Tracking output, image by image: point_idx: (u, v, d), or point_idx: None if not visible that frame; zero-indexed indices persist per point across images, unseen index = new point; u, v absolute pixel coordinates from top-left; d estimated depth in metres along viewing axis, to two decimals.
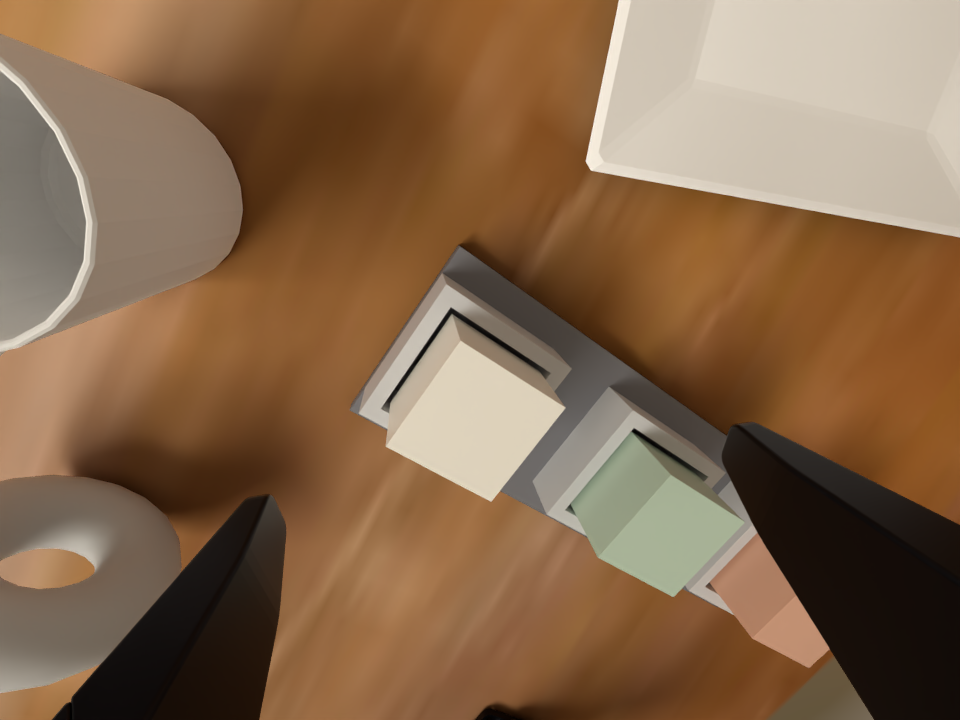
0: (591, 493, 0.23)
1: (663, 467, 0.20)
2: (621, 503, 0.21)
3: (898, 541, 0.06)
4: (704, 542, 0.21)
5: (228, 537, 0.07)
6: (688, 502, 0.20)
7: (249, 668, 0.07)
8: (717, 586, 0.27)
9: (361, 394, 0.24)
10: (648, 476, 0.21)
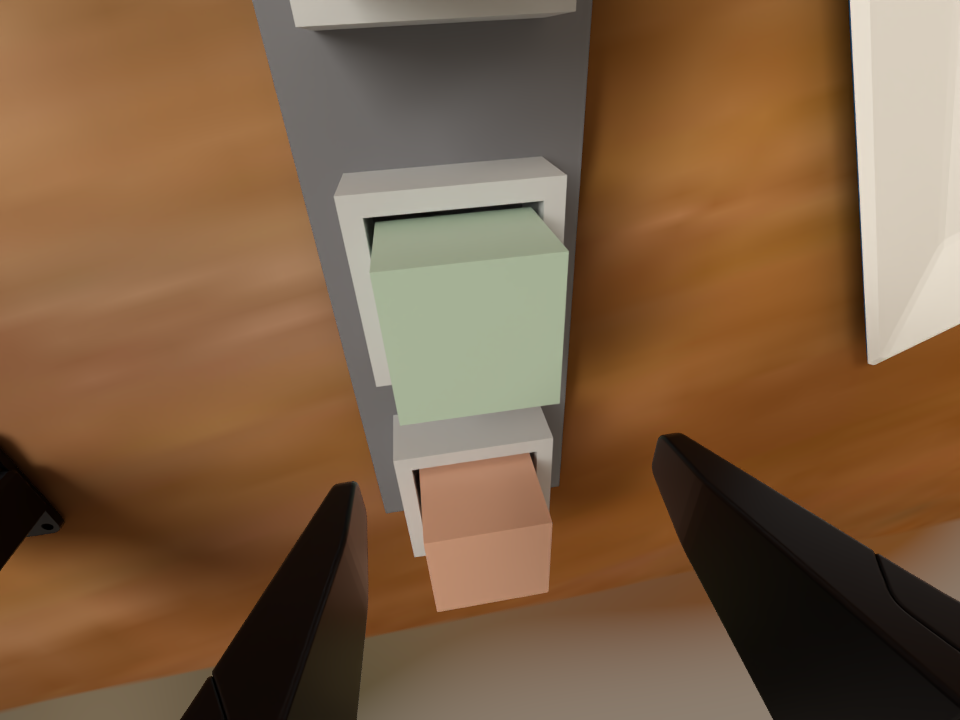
0: (419, 226, 0.14)
1: (560, 243, 0.12)
2: (461, 246, 0.12)
3: (795, 560, 0.06)
4: (501, 387, 0.14)
5: (326, 522, 0.07)
6: (543, 314, 0.13)
7: (352, 649, 0.07)
8: (425, 478, 0.20)
9: None
10: (529, 242, 0.12)
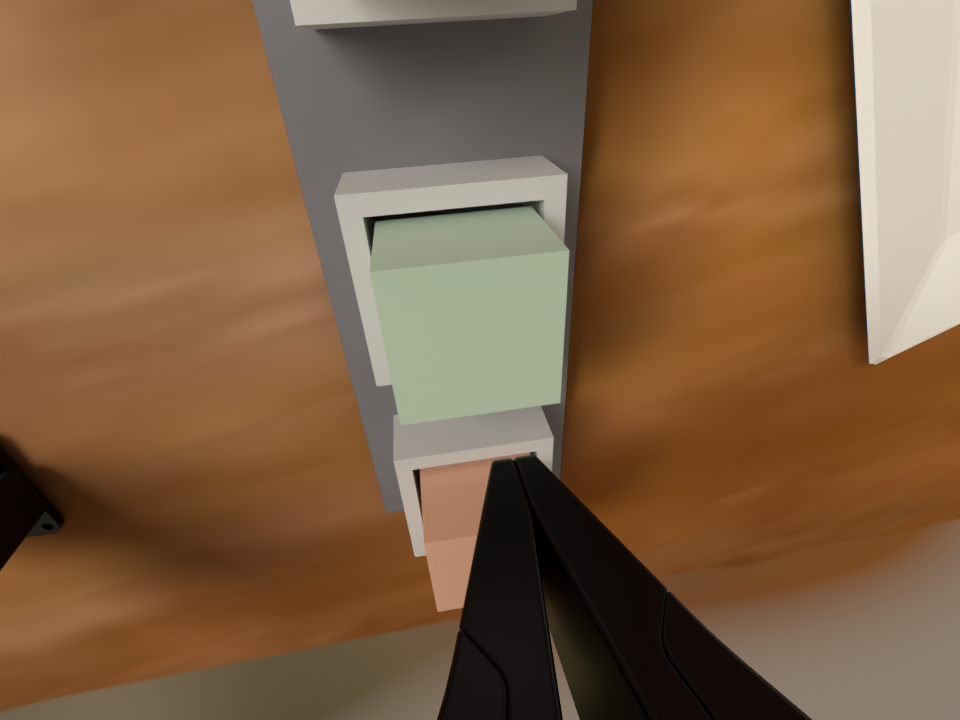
0: (419, 225, 0.14)
1: (560, 242, 0.12)
2: (461, 246, 0.12)
3: (584, 598, 0.06)
4: (501, 387, 0.14)
5: (504, 494, 0.08)
6: (543, 313, 0.13)
7: None
8: (425, 478, 0.20)
9: None
10: (529, 241, 0.12)
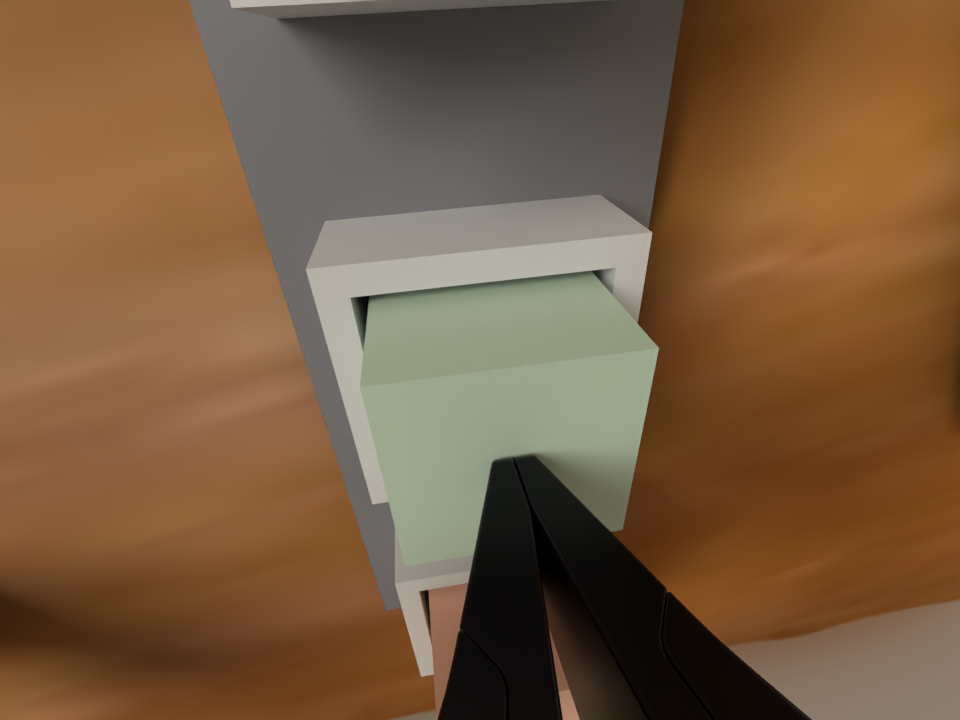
0: (432, 292, 0.10)
1: (640, 330, 0.08)
2: (496, 334, 0.08)
3: (584, 598, 0.06)
4: None
5: (504, 494, 0.08)
6: (612, 429, 0.09)
7: None
8: (436, 602, 0.16)
9: None
10: (595, 327, 0.08)
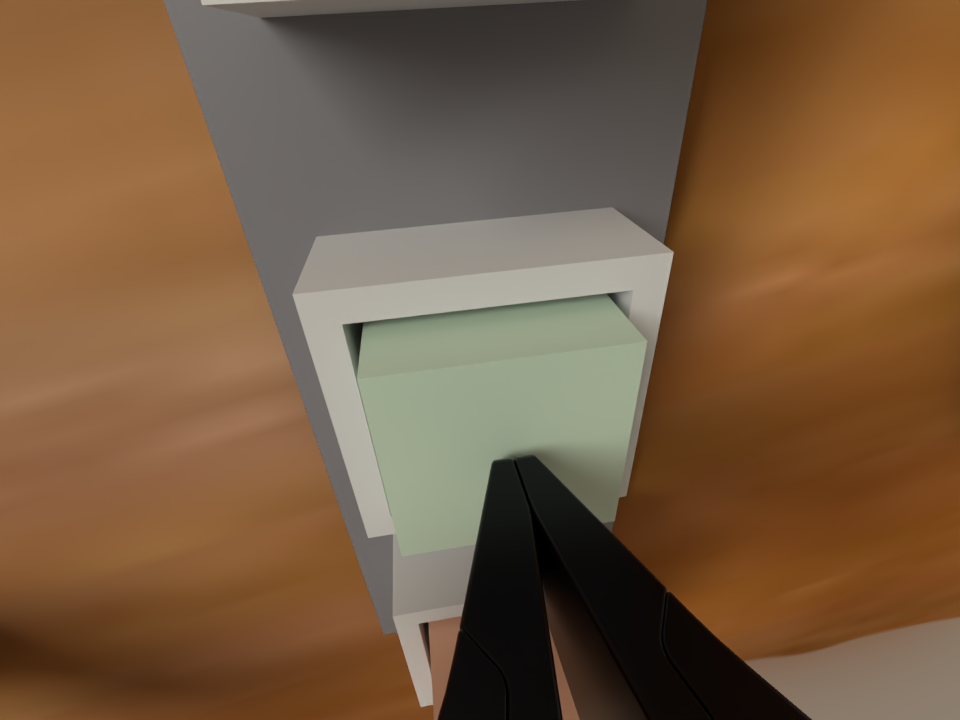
0: None
1: (630, 325, 0.09)
2: (490, 328, 0.09)
3: (584, 598, 0.06)
4: None
5: (504, 494, 0.08)
6: (603, 420, 0.09)
7: None
8: (436, 635, 0.15)
9: None
10: (586, 322, 0.09)
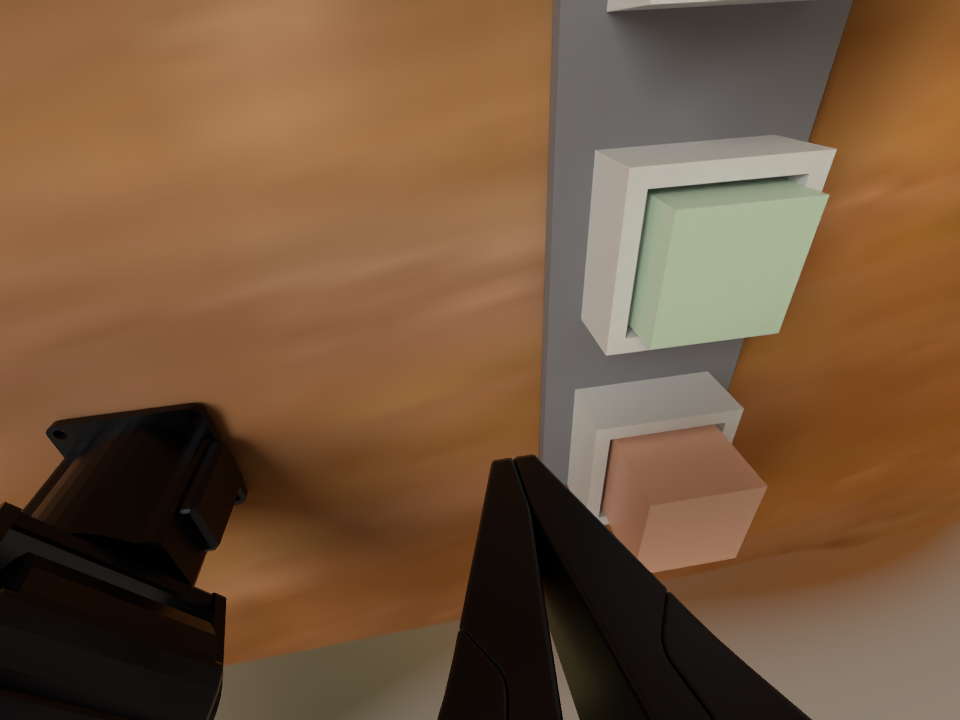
0: None
1: (812, 190, 0.15)
2: (729, 193, 0.15)
3: (583, 598, 0.06)
4: (738, 316, 0.16)
5: (504, 494, 0.08)
6: (792, 250, 0.15)
7: None
8: (623, 447, 0.21)
9: None
10: (785, 189, 0.15)
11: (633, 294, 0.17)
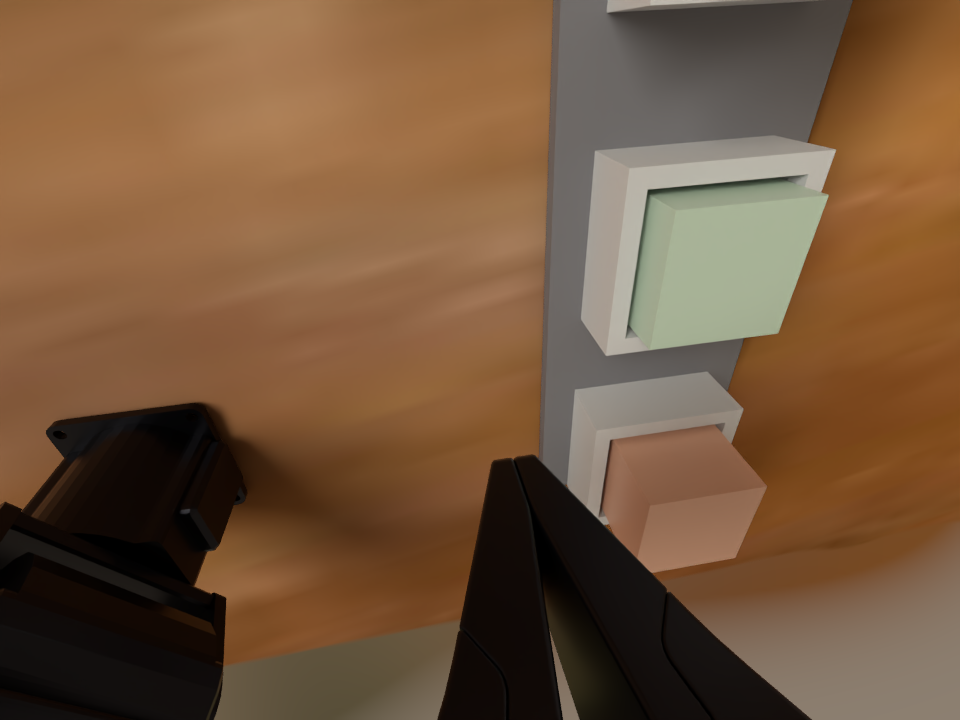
0: None
1: (812, 190, 0.15)
2: (729, 193, 0.15)
3: (584, 598, 0.06)
4: (738, 316, 0.16)
5: (504, 494, 0.08)
6: (791, 250, 0.15)
7: None
8: (623, 447, 0.21)
9: None
10: (785, 190, 0.15)
11: (633, 294, 0.17)
